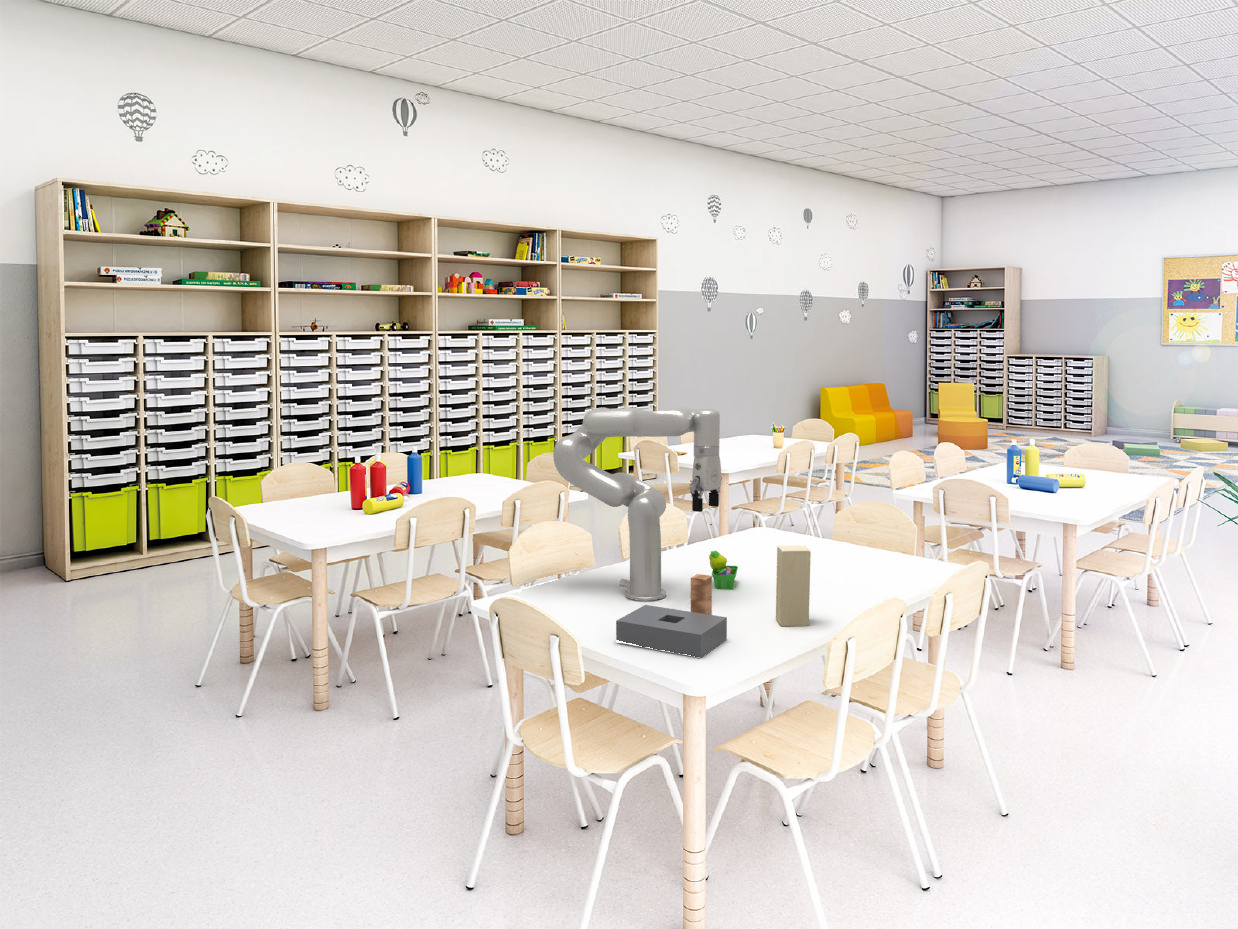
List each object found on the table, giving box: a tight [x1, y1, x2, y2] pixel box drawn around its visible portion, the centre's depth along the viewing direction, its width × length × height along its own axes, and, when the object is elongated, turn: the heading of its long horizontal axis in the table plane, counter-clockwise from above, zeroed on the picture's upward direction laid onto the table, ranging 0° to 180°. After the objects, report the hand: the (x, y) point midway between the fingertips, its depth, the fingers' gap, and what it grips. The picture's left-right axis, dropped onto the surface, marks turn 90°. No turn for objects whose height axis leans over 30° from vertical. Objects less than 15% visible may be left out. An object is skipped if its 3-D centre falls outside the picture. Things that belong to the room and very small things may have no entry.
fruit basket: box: [708, 550, 739, 590], centre depth 291 cm, size 11×9×11 cm
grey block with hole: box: [615, 604, 728, 658], centre depth 238 cm, size 24×16×6 cm, turn 60°
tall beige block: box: [775, 545, 812, 627], centre depth 252 cm, size 8×7×21 cm
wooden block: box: [690, 573, 713, 615], centre depth 253 cm, size 4×4×13 cm
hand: (705, 508), depth 273 cm, fingers open, 9 cm apart
